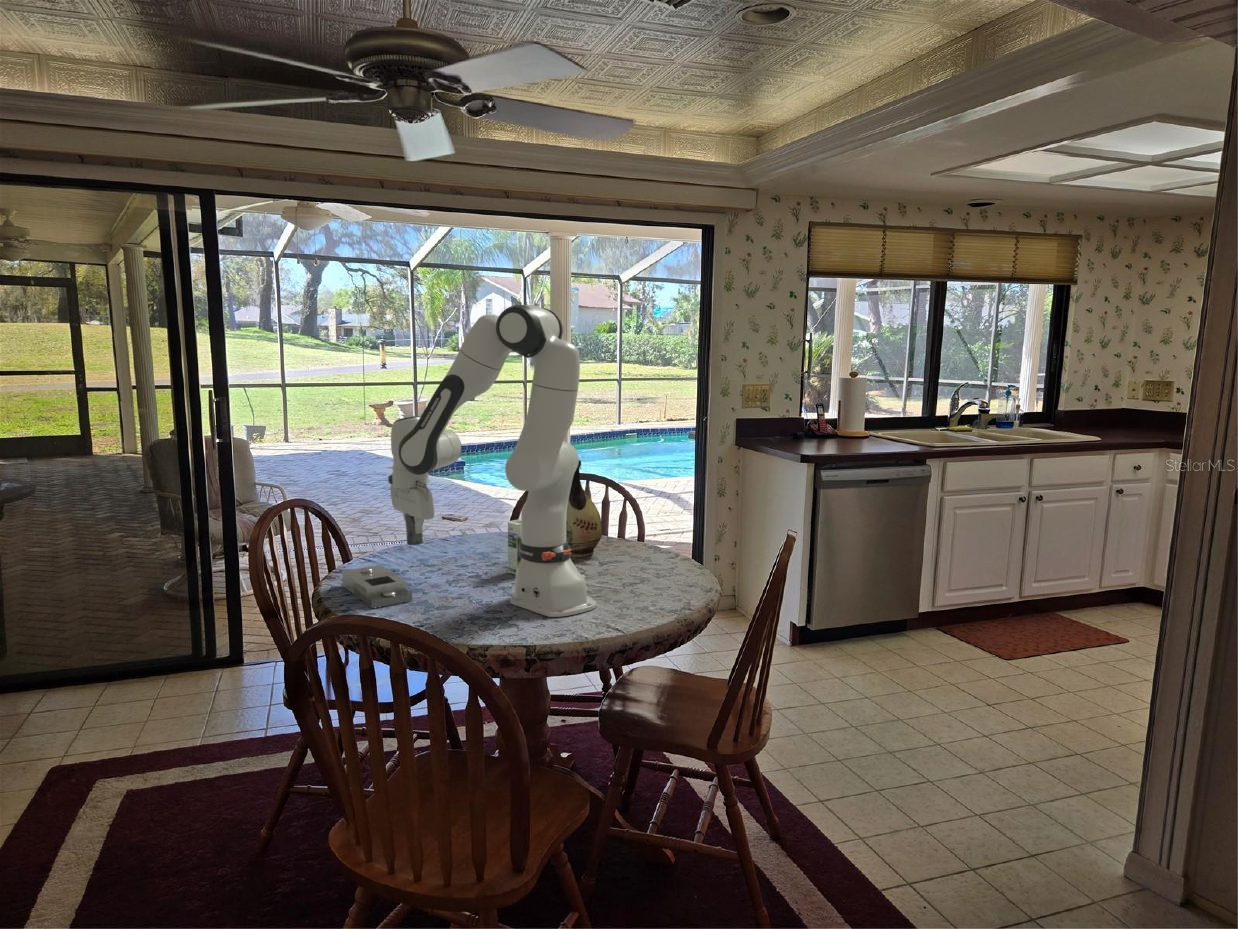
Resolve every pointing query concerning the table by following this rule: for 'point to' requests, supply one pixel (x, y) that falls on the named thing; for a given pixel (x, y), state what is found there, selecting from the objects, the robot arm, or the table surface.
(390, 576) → the outer link end
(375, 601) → the inner link end
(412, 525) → the pin
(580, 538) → the ceramic jug
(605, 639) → the table surface
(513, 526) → the syrup box
